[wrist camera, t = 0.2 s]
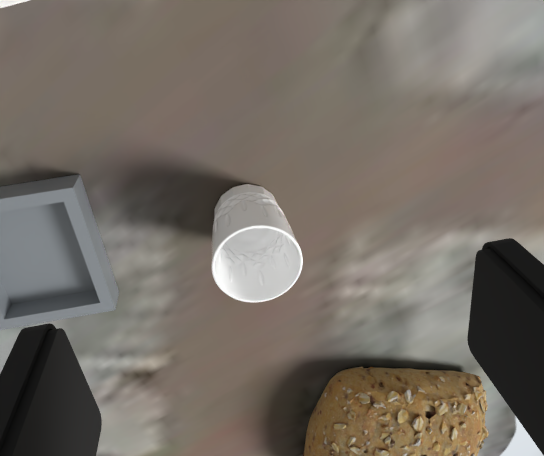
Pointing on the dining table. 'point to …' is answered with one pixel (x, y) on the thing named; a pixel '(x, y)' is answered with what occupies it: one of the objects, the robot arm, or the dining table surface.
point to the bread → (398, 414)
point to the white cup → (253, 246)
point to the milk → (10, 2)
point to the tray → (51, 254)
